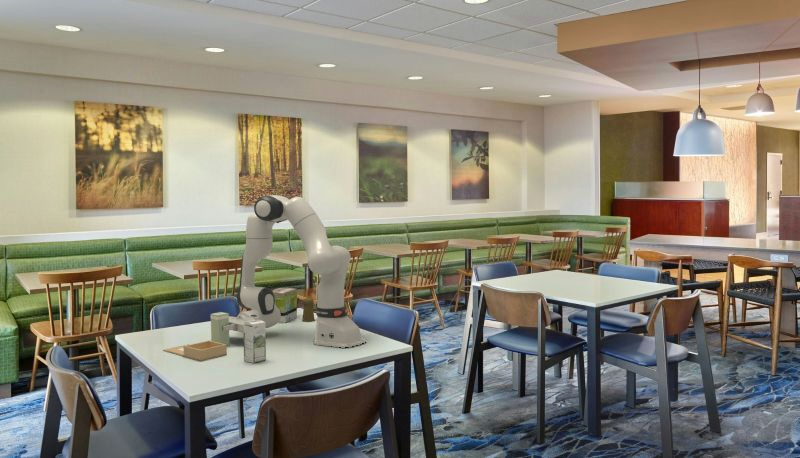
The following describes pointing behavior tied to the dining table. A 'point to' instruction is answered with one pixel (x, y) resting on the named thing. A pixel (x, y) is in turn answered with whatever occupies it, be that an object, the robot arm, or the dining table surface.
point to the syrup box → (254, 341)
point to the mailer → (200, 350)
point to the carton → (219, 328)
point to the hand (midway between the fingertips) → (218, 327)
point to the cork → (308, 310)
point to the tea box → (286, 303)
